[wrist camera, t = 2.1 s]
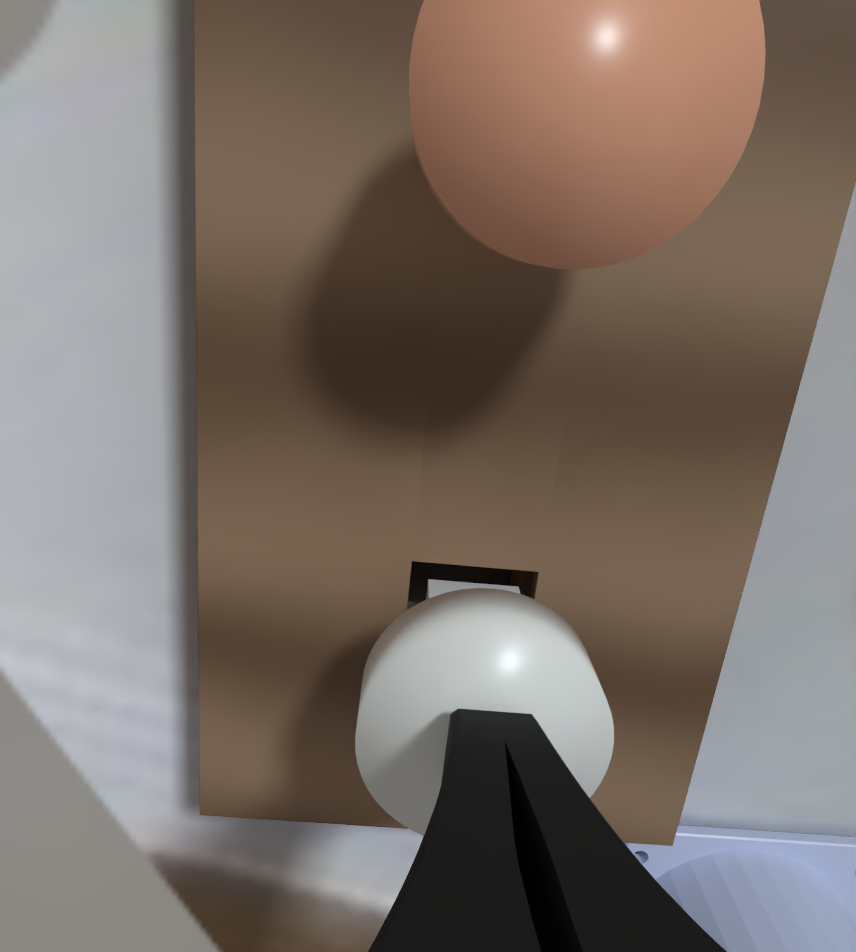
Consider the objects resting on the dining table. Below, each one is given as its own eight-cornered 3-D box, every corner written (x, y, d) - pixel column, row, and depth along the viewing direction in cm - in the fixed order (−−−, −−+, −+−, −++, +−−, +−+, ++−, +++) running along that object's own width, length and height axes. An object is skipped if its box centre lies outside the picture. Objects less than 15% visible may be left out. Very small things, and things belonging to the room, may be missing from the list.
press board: (637, 762, 21) (672, 845, 18) (230, 733, 20) (200, 814, 17) (857, -148, 14) (973, -251, 11) (240, -232, 13) (191, -365, 10)
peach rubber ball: (631, 272, 13) (718, 285, 9) (400, 248, 13) (394, 252, 9) (681, 4, 12) (808, -109, 8) (423, -28, 12) (427, -161, 8)
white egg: (549, 711, 16) (589, 853, 13) (363, 697, 16) (346, 838, 12) (581, 541, 15) (637, 643, 11) (377, 523, 15) (364, 622, 11)
